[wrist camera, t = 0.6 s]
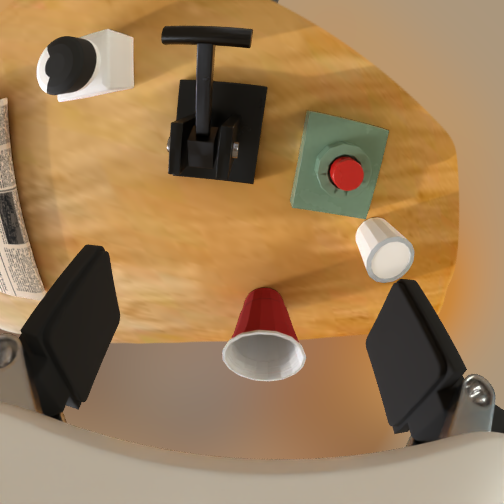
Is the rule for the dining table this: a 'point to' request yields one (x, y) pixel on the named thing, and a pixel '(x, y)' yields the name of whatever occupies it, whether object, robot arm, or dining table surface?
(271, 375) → the plastic cup
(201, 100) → the lever
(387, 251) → the white cup
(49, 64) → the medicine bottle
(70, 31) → the dining table surface
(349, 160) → the button
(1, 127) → the newspaper
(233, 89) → the bracket
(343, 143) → the button box
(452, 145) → the dining table surface
